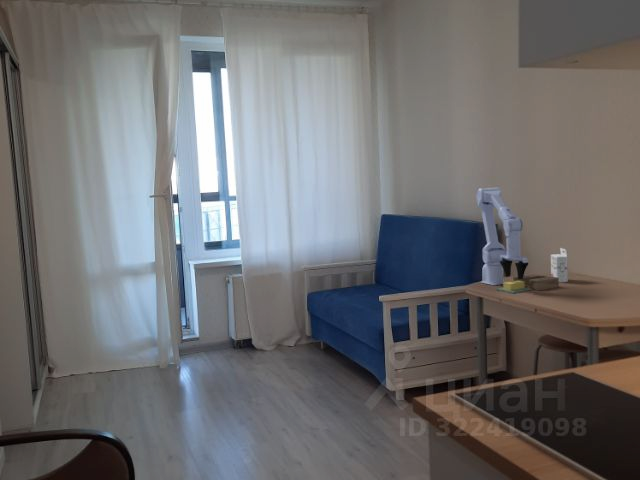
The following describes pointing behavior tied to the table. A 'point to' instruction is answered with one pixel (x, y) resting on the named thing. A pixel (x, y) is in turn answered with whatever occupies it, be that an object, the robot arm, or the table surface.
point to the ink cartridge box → (559, 266)
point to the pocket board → (538, 281)
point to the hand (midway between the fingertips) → (514, 277)
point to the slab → (513, 285)
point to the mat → (514, 290)
